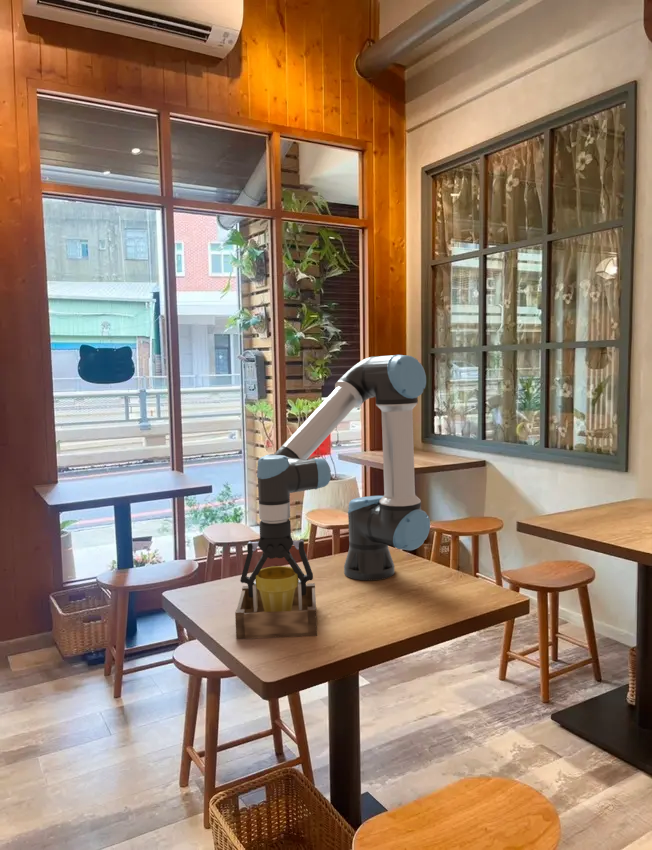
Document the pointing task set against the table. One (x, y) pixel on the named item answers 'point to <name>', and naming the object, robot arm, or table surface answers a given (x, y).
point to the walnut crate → (276, 617)
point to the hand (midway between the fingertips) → (278, 608)
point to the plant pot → (277, 588)
